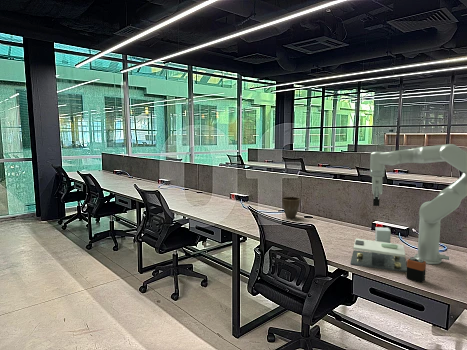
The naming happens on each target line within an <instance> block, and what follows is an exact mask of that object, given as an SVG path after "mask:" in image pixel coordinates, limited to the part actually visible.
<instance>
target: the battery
mask: <svg viewBox="0 0 467 350" xmlns="http://www.w3.org/2000/svg"><path fill="white" fill-rule="evenodd" d="M406 267H407V272H406V276H405V278H406V280H412V281H413V282H414V281H415V282H418V283H423V282H424V281H425V280H426V272H427V271H426V268H427V263H426V261H423V260H421V259H419V260H418V259H415V258H414V256H413V257H412V256H410V257H409V258H408V259H407V260H406Z"/></svg>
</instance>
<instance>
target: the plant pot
mask: <svg viewBox="0 0 467 350" xmlns="http://www.w3.org/2000/svg"><path fill="white" fill-rule="evenodd" d="M281 202H282V207H283V211H284V215H285V217H286V218H287V217H288V219H296V217H297V214H298V210H299V208H300V203H301V197H298V196H297V197H295V196H283V197H282V198H281Z"/></svg>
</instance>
